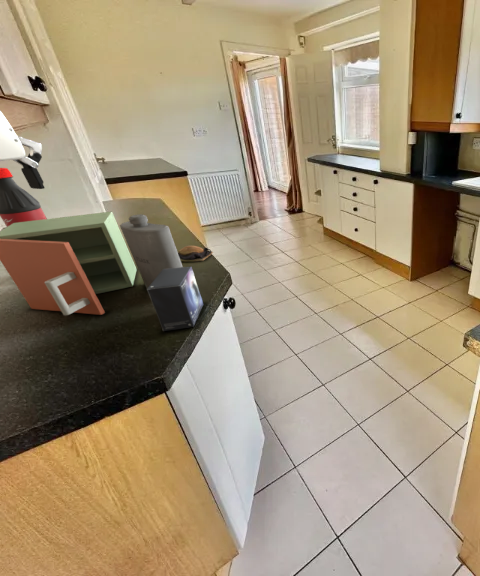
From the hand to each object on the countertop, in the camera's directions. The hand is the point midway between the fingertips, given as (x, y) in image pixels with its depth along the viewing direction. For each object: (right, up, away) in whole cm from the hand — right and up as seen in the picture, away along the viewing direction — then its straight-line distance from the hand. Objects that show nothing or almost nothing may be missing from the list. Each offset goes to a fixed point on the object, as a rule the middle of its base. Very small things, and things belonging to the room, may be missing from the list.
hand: (8, 193), depth 62 cm
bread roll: (+10, -9, +43) cm, 45 cm away
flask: (+15, -19, +24) cm, 34 cm away
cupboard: (-7, -18, +25) cm, 32 cm away
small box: (+28, -26, +11) cm, 39 cm away
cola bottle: (-26, -14, +34) cm, 45 cm away
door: (-3, -25, +12) cm, 28 cm away
